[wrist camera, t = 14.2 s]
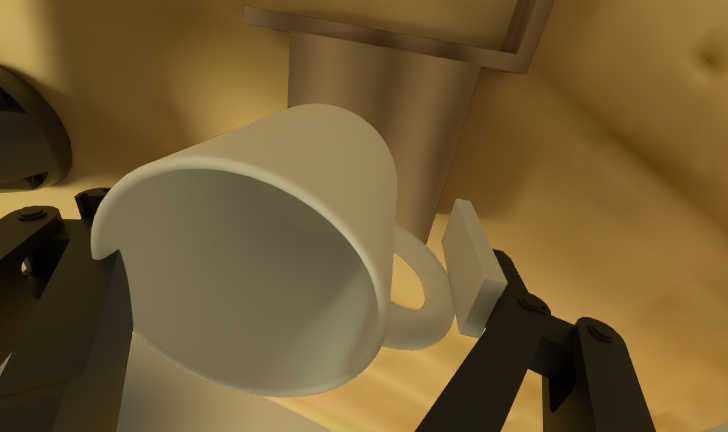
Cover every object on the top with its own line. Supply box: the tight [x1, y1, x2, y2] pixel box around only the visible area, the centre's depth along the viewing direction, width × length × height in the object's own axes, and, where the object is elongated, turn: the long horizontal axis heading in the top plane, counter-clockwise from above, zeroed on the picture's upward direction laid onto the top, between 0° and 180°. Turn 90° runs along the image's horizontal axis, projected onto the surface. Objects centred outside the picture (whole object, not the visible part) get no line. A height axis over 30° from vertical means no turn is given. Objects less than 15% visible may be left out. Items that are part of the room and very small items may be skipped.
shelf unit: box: [243, 0, 554, 245], centre depth 24 cm, size 23×34×8 cm
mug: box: [91, 104, 455, 397], centre depth 13 cm, size 12×8×10 cm
